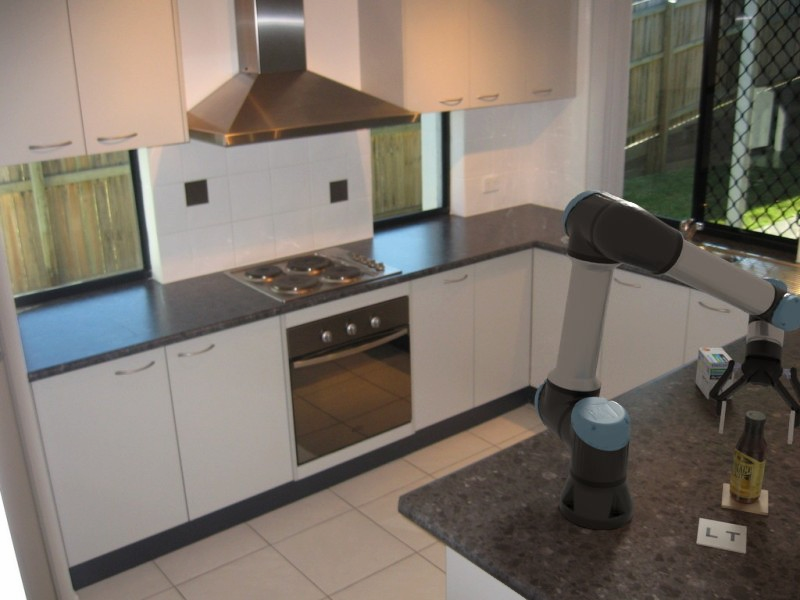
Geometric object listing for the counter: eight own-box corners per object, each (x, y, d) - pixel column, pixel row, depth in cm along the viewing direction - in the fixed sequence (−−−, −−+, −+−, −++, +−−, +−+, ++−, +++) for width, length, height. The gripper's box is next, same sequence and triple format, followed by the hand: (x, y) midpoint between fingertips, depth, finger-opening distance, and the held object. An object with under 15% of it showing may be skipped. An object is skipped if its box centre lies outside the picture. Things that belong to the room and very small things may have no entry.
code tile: (696, 544, 166) (696, 542, 166) (699, 519, 174) (699, 517, 174) (745, 553, 163) (745, 552, 163) (746, 527, 171) (746, 526, 171)
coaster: (721, 507, 178) (721, 504, 178) (723, 485, 186) (723, 483, 186) (767, 515, 175) (768, 513, 175) (767, 492, 183) (767, 490, 182)
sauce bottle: (722, 493, 182) (730, 410, 175) (745, 485, 184) (753, 404, 177) (745, 508, 176) (754, 424, 169) (768, 501, 178) (778, 417, 172)
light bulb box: (732, 399, 225) (736, 362, 221) (706, 400, 225) (710, 362, 221) (718, 382, 235) (722, 346, 231) (694, 383, 235) (697, 347, 231)
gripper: (824, 358, 186) (817, 451, 178) (704, 344, 195) (693, 432, 188) (829, 345, 180) (822, 441, 172) (704, 331, 189) (693, 422, 181)
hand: (754, 437), depth 180 cm, fingers open, 13 cm apart
